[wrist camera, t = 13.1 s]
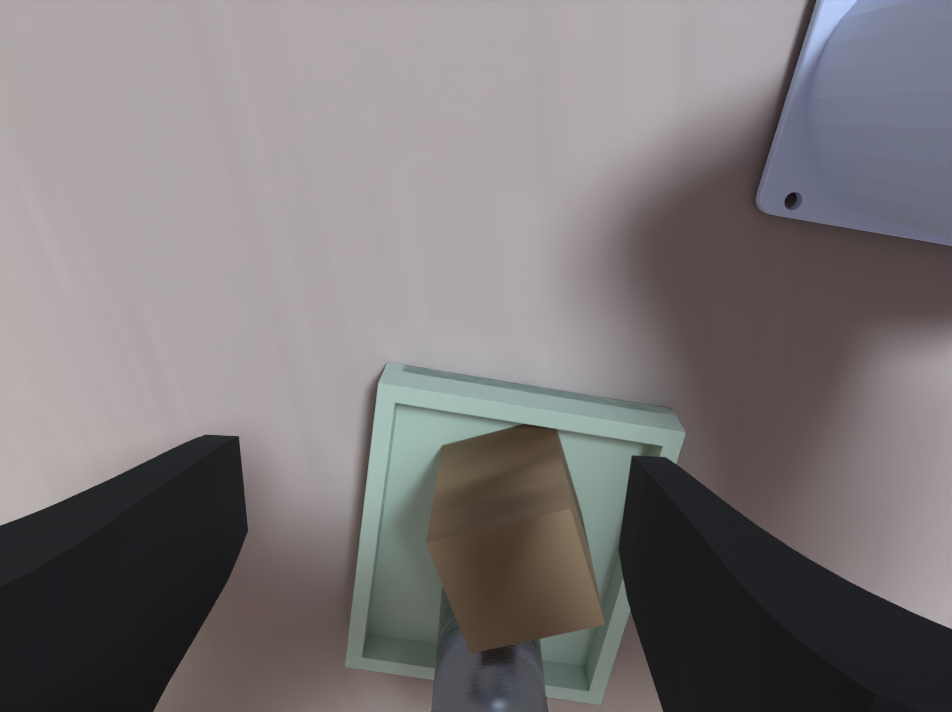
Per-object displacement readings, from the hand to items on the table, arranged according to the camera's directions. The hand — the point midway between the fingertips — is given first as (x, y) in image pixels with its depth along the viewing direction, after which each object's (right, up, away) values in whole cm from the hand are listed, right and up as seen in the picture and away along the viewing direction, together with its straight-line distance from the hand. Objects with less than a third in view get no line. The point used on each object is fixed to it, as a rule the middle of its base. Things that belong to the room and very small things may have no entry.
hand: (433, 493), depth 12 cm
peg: (+1, -7, +13) cm, 15 cm away
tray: (+2, -4, +13) cm, 13 cm away
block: (+2, -2, +11) cm, 11 cm away
